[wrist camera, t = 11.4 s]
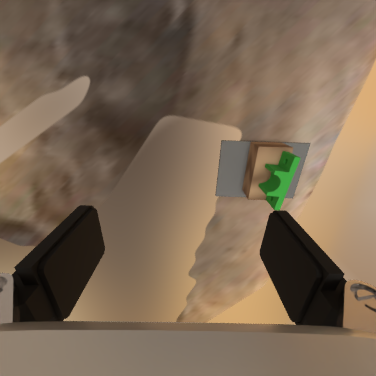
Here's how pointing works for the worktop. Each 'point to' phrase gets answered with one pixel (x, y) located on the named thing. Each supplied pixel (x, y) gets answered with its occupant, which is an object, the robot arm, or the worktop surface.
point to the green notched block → (279, 179)
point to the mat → (237, 161)
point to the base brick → (261, 166)
